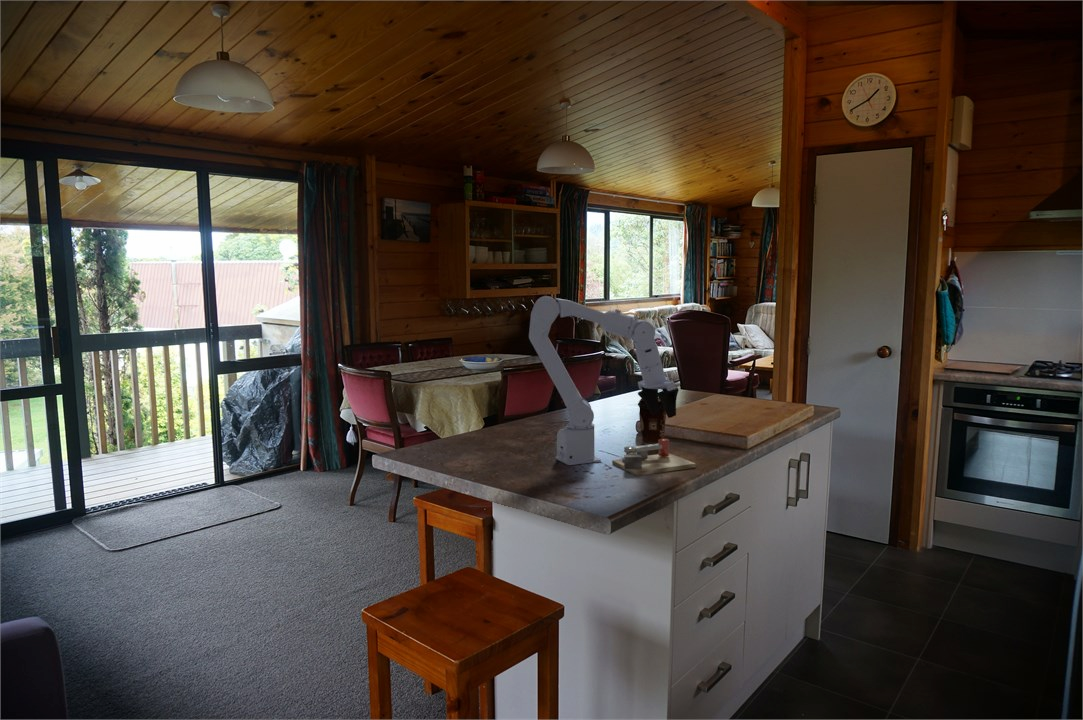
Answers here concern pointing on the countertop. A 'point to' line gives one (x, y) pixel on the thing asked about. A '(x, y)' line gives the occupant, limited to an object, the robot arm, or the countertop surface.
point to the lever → (643, 450)
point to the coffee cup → (651, 423)
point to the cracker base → (652, 464)
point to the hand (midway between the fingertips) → (664, 415)
